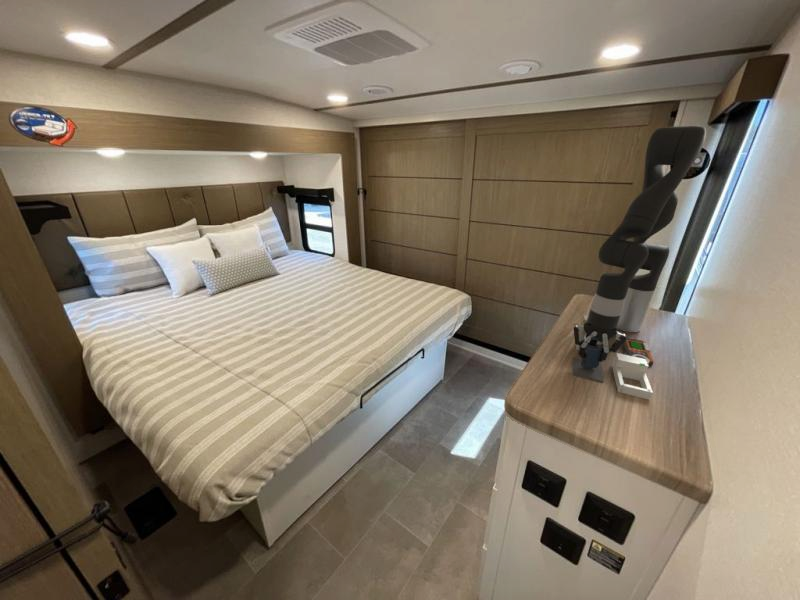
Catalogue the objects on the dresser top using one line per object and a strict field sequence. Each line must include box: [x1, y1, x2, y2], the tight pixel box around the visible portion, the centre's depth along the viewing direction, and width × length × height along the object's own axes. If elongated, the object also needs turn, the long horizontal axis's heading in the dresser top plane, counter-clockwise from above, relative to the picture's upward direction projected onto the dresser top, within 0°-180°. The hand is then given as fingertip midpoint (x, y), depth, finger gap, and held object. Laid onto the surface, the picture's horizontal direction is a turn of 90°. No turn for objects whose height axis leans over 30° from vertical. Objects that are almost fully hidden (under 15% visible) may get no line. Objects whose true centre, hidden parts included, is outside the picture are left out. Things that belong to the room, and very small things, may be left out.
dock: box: [611, 352, 654, 401], centre depth 94 cm, size 24×8×5 cm, turn 153°
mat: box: [572, 356, 605, 383], centre depth 96 cm, size 10×8×1 cm
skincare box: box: [575, 314, 601, 352], centre depth 104 cm, size 6×4×12 cm
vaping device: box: [581, 336, 603, 368], centre depth 93 cm, size 3×5×12 cm, turn 95°
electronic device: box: [621, 337, 654, 367], centre depth 103 cm, size 7×3×15 cm
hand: (590, 358), depth 95 cm, fingers closed on vaping device, 4 cm apart
